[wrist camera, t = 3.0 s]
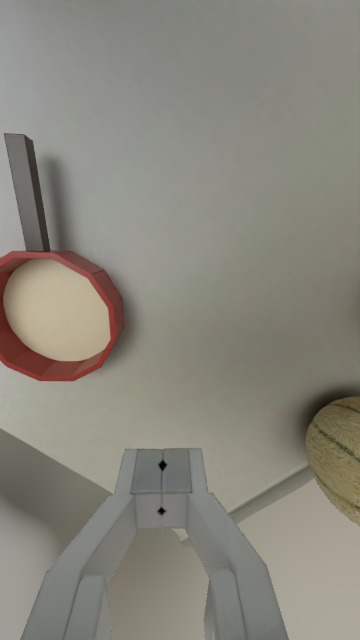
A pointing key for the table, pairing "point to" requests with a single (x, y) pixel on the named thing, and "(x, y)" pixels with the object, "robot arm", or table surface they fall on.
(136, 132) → the table surface
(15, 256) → the pan
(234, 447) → the table surface
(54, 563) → the robot arm
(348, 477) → the cantaloupe
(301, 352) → the table surface
